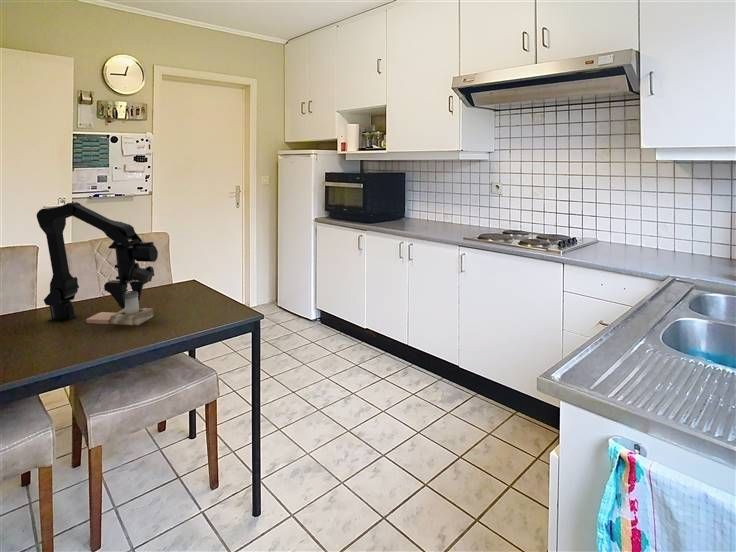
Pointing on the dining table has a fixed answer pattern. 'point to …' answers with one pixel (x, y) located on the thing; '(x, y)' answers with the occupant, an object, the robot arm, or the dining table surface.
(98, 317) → the tile
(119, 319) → the beige square frame
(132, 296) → the plug
